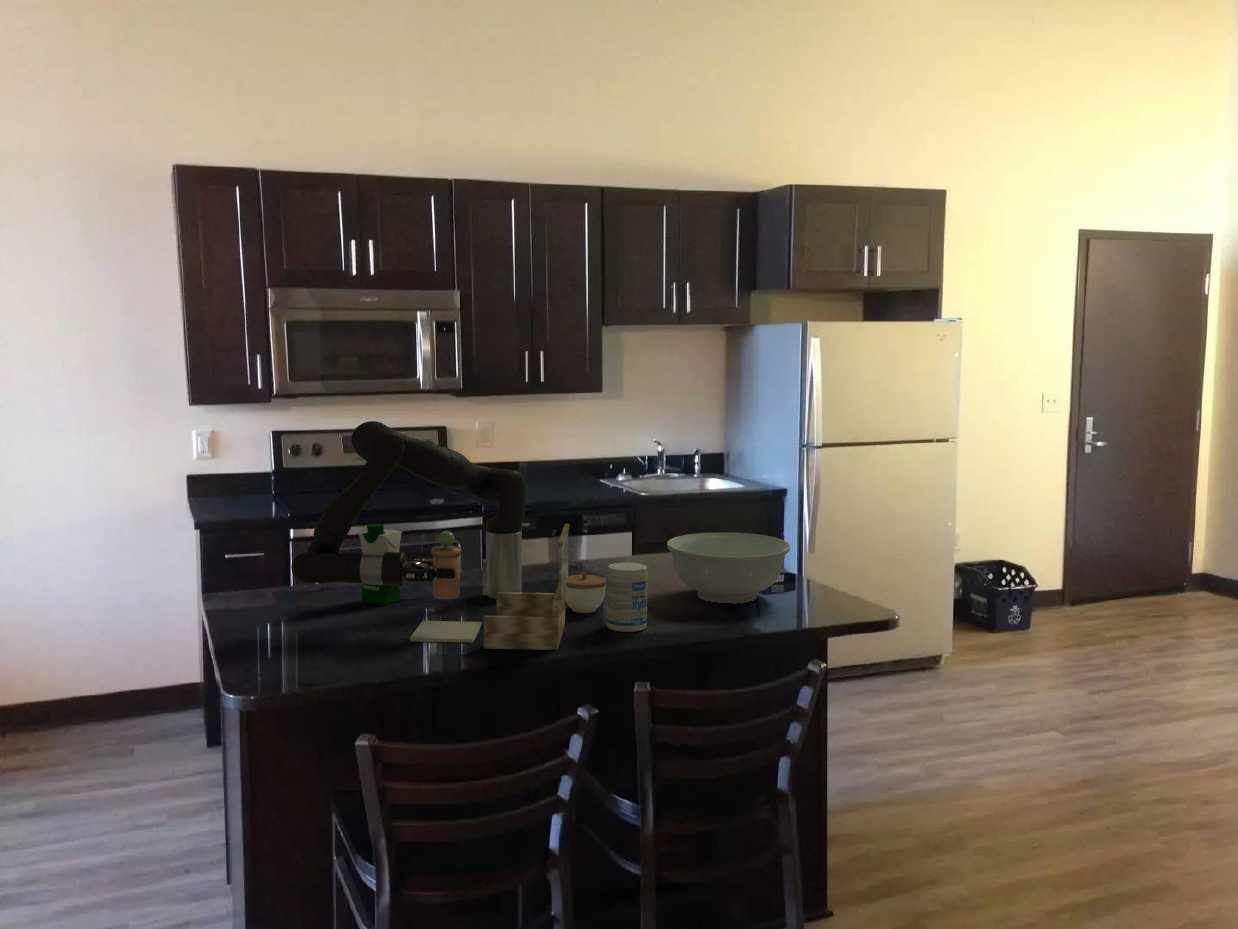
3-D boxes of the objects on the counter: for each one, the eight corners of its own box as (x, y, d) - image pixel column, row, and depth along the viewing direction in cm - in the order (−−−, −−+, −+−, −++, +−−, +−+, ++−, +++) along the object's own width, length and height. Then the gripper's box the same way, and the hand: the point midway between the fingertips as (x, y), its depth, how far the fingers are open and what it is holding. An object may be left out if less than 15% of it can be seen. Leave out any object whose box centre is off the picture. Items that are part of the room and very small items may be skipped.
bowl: (647, 604, 270) (648, 548, 268) (687, 578, 300) (689, 527, 298) (771, 619, 258) (773, 560, 256) (800, 590, 288) (802, 537, 286)
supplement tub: (640, 635, 242) (641, 572, 241) (600, 631, 245) (601, 568, 243) (651, 624, 252) (652, 563, 250) (613, 620, 254) (614, 560, 253)
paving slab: (409, 641, 235) (409, 637, 235) (422, 624, 249) (422, 620, 248) (472, 642, 234) (472, 639, 234) (482, 625, 248) (482, 622, 248)
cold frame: (483, 648, 230) (483, 540, 227) (497, 620, 252) (497, 522, 250) (561, 650, 230) (562, 542, 227) (568, 622, 252) (569, 523, 249)
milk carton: (356, 603, 267) (355, 525, 264) (378, 595, 275) (377, 519, 273) (384, 607, 263) (383, 528, 261) (406, 599, 271) (406, 522, 269)
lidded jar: (600, 616, 258) (600, 579, 256) (557, 614, 260) (558, 576, 259) (609, 605, 268) (610, 569, 267) (568, 603, 270) (568, 567, 269)
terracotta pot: (425, 596, 239) (425, 531, 237) (444, 591, 245) (444, 527, 243) (448, 601, 236) (448, 534, 234) (467, 595, 242) (467, 530, 240)
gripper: (375, 558, 232) (452, 560, 232) (390, 545, 247) (462, 547, 246) (375, 592, 233) (451, 594, 233) (390, 577, 247) (462, 579, 247)
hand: (457, 570), depth 240 cm, fingers closed on terracotta pot, 6 cm apart
